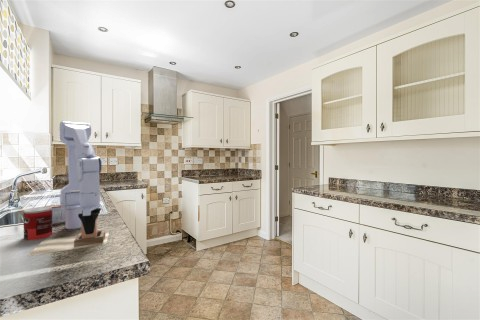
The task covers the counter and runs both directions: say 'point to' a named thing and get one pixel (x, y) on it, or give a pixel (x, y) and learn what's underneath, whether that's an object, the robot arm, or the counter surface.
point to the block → (89, 234)
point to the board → (70, 243)
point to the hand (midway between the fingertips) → (90, 231)
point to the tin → (57, 214)
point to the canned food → (37, 223)
